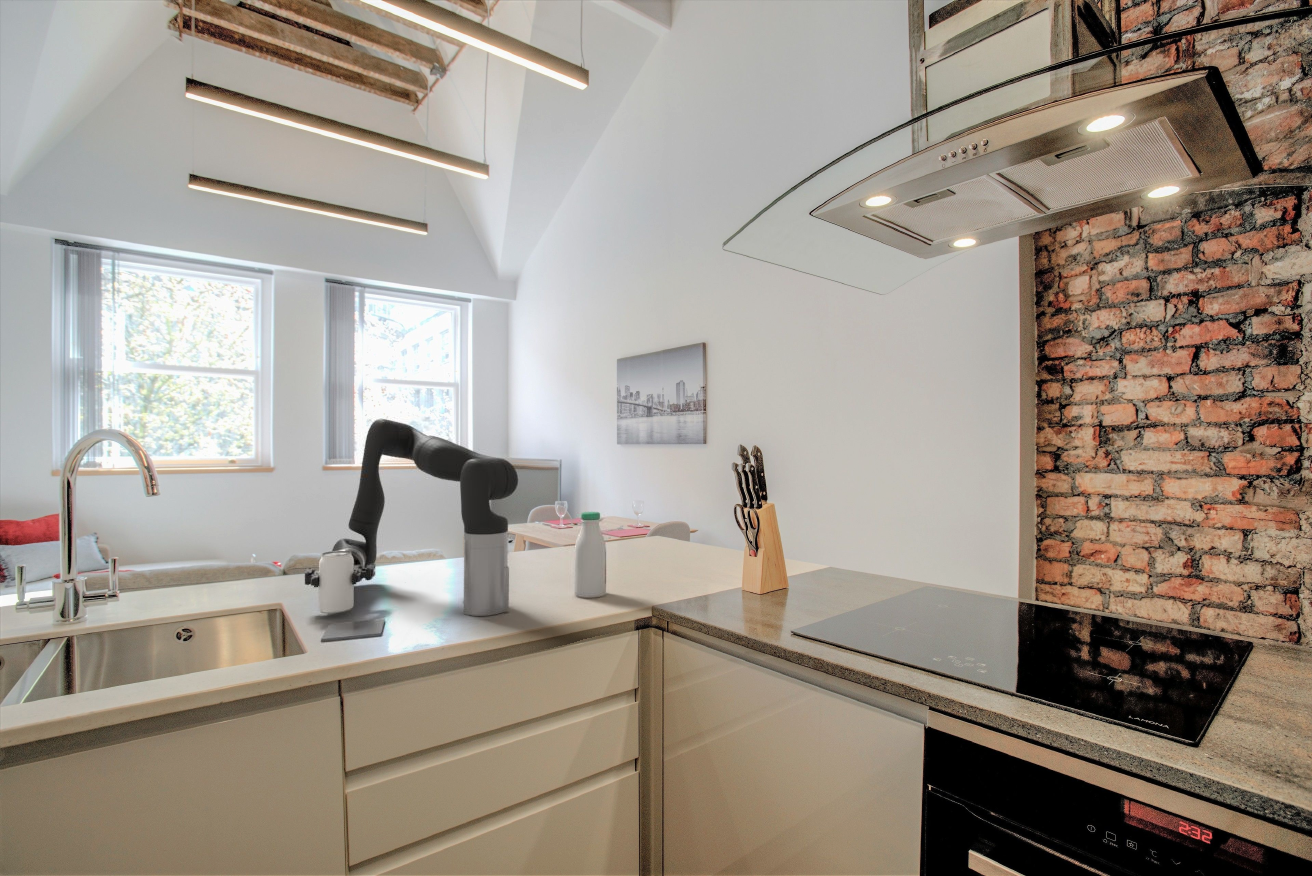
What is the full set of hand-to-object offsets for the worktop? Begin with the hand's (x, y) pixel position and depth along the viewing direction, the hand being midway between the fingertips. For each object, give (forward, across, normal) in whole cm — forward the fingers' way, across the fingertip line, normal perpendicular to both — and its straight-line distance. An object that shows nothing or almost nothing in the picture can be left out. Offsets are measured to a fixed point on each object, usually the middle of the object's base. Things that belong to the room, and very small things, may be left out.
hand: (335, 581), depth 123 cm
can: (-2, 0, +7) cm, 7 cm away
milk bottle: (-2, +55, +8) cm, 55 cm away
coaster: (+10, +5, +8) cm, 14 cm away
